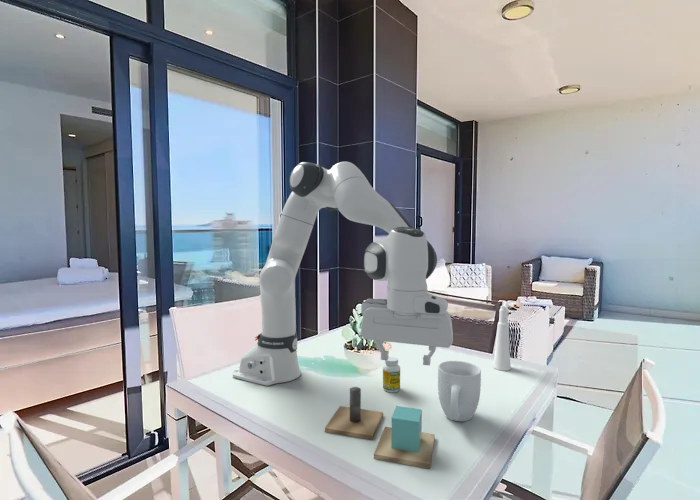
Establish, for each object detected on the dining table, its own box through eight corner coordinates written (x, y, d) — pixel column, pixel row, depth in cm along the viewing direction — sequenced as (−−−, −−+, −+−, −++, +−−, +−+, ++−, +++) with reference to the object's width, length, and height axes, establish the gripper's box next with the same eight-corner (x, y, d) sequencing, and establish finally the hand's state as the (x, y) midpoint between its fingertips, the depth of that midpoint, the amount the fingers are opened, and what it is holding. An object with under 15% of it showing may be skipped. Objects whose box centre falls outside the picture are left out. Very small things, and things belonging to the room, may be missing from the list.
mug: (477, 437, 94) (478, 384, 93) (431, 428, 98) (432, 377, 97) (480, 410, 108) (482, 363, 107) (440, 403, 112) (441, 358, 111)
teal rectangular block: (391, 448, 88) (391, 417, 88) (395, 434, 94) (396, 405, 93) (418, 452, 86) (418, 421, 86) (421, 438, 92) (421, 409, 92)
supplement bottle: (392, 384, 125) (392, 354, 124) (403, 390, 120) (404, 359, 120) (379, 388, 122) (379, 357, 121) (390, 394, 118) (390, 363, 117)
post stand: (324, 431, 97) (324, 396, 96) (340, 409, 108) (340, 377, 107) (372, 439, 93) (372, 403, 93) (383, 415, 105) (383, 382, 104)
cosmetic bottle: (488, 366, 140) (490, 305, 139) (501, 363, 143) (503, 303, 142) (502, 372, 135) (504, 309, 133) (514, 369, 138) (517, 307, 136)
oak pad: (373, 458, 86) (373, 454, 86) (385, 430, 97) (385, 426, 97) (429, 468, 83) (429, 464, 82) (434, 438, 94) (434, 434, 94)
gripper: (357, 300, 87) (356, 361, 88) (453, 307, 81) (450, 372, 82) (365, 295, 93) (364, 352, 94) (454, 301, 87) (452, 362, 88)
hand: (405, 361), depth 88 cm, fingers open, 8 cm apart
